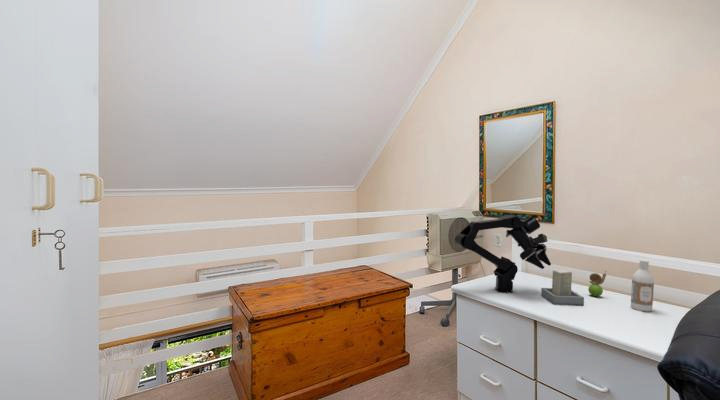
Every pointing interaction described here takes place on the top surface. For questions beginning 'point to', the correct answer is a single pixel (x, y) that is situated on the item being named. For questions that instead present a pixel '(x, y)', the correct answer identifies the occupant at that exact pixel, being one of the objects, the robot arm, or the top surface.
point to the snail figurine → (596, 284)
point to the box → (562, 298)
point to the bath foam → (642, 288)
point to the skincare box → (561, 283)
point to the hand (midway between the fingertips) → (547, 266)
